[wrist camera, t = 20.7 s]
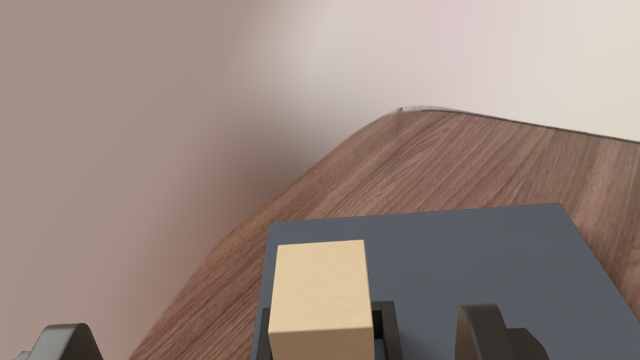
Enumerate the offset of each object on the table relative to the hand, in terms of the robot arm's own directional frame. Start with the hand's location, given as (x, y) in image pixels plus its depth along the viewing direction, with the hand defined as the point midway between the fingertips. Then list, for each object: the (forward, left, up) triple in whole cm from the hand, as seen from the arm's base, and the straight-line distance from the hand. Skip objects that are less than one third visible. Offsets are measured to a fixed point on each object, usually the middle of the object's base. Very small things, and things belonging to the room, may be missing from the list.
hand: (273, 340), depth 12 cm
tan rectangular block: (0, +11, -17) cm, 21 cm away
